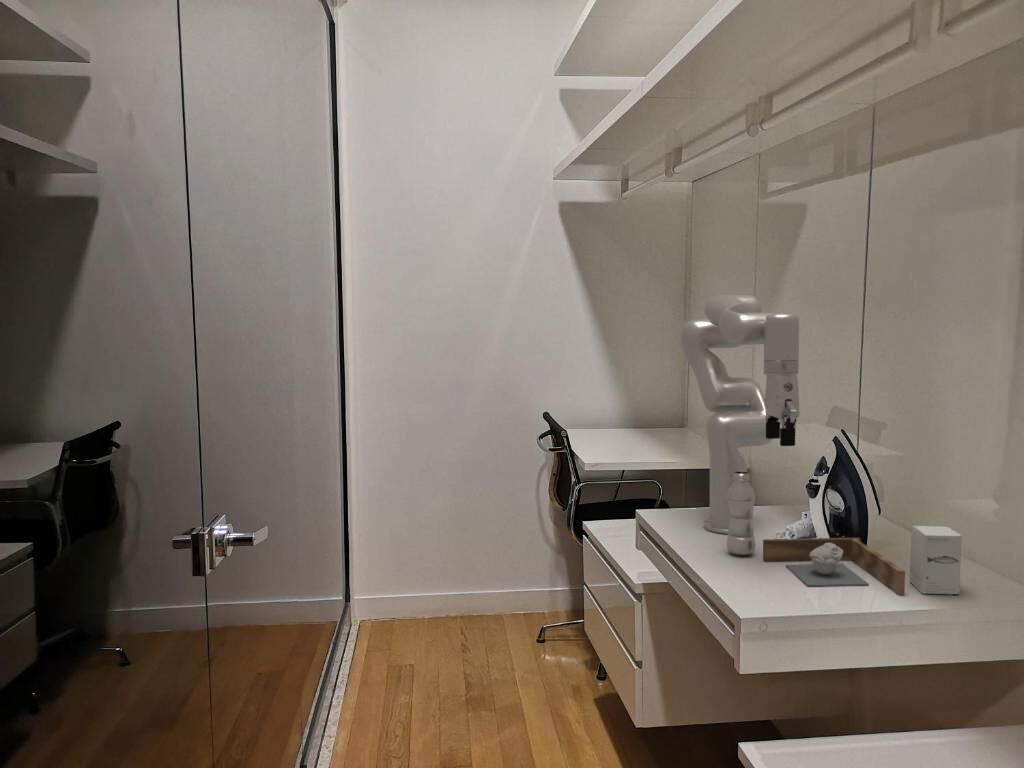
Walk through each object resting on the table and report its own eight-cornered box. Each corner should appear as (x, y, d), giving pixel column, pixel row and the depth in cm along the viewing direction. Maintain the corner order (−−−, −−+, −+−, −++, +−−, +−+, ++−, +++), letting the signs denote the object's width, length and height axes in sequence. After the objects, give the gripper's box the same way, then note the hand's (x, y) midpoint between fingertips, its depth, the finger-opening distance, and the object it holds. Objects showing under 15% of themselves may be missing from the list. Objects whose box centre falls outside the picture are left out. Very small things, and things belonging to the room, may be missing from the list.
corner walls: (763, 560, 182) (763, 539, 181) (858, 558, 182) (858, 537, 181) (800, 597, 158) (800, 573, 158) (909, 594, 158) (910, 571, 158)
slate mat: (785, 566, 177) (785, 564, 177) (842, 565, 177) (842, 563, 177) (807, 586, 164) (807, 585, 164) (868, 585, 164) (868, 583, 164)
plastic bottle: (756, 559, 183) (757, 475, 181) (727, 557, 184) (727, 475, 182) (754, 550, 189) (754, 470, 187) (725, 549, 190) (725, 469, 188)
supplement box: (921, 594, 158) (923, 534, 157) (908, 582, 166) (910, 524, 164) (960, 596, 157) (962, 535, 156) (945, 583, 165) (947, 525, 163)
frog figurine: (846, 579, 167) (847, 547, 166) (813, 578, 168) (813, 547, 167) (837, 569, 173) (838, 539, 172) (805, 569, 174) (805, 539, 173)
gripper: (812, 370, 167) (810, 448, 169) (784, 364, 185) (783, 435, 186) (777, 371, 167) (776, 449, 169) (752, 365, 185) (751, 436, 186)
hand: (779, 442), depth 178 cm, fingers open, 9 cm apart
